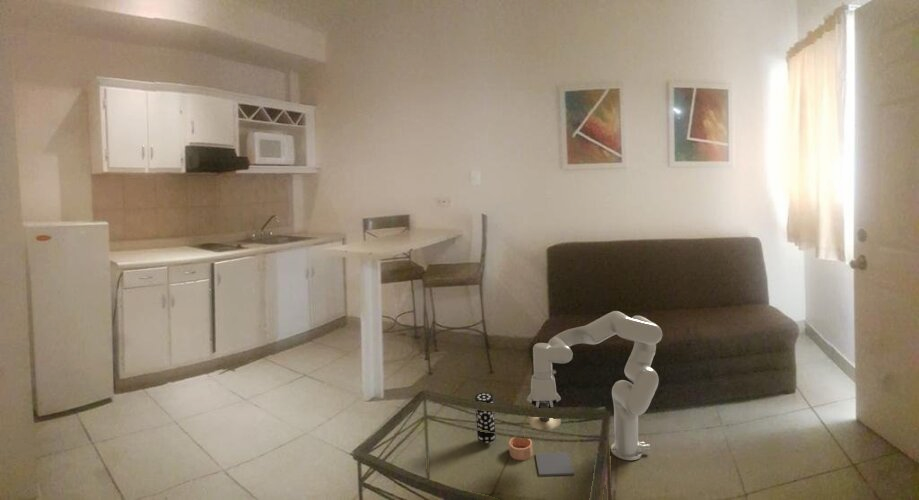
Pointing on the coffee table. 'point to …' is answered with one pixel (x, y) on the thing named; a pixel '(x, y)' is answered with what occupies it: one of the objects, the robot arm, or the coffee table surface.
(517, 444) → the bowl
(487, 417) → the white-spotted black cylinder
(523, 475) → the coffee table surface
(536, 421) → the lid
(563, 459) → the mat
